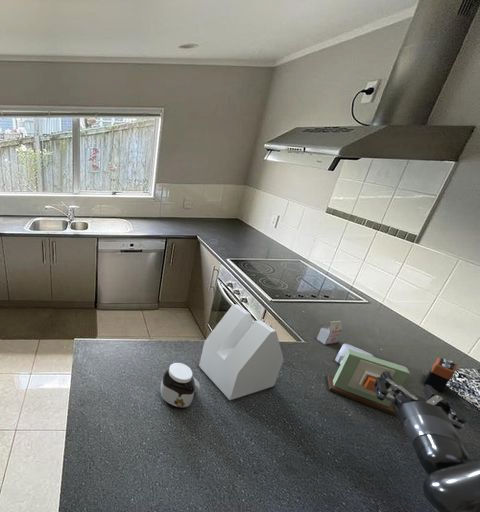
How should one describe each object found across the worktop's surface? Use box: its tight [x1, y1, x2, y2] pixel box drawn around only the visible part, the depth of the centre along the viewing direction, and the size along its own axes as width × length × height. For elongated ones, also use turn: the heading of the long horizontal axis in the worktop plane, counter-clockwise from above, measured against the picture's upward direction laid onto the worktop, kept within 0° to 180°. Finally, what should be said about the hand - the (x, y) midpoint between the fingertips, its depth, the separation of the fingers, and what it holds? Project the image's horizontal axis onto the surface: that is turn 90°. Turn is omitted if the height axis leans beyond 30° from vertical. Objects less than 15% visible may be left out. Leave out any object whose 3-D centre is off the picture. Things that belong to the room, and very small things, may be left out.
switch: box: [364, 376, 376, 392], centre depth 87 cm, size 3×2×4 cm
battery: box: [423, 357, 458, 392], centre depth 98 cm, size 4×7×10 cm, turn 124°
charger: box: [334, 343, 375, 366], centre depth 105 cm, size 5×9×15 cm
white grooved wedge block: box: [198, 303, 285, 401], centre depth 95 cm, size 19×15×25 cm
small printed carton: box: [316, 320, 343, 346], centre depth 118 cm, size 4×7×10 cm, turn 103°
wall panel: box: [326, 349, 411, 415], centre depth 91 cm, size 16×8×15 cm, turn 57°
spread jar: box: [160, 362, 201, 409], centre depth 89 cm, size 12×11×12 cm
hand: (405, 380), depth 71 cm, fingers open, 7 cm apart
